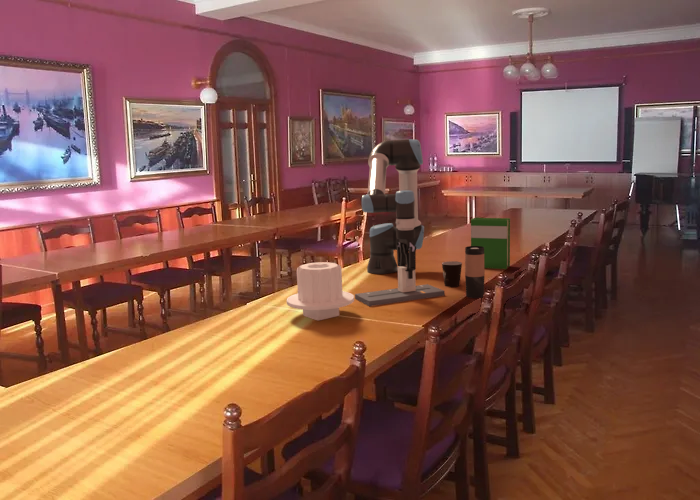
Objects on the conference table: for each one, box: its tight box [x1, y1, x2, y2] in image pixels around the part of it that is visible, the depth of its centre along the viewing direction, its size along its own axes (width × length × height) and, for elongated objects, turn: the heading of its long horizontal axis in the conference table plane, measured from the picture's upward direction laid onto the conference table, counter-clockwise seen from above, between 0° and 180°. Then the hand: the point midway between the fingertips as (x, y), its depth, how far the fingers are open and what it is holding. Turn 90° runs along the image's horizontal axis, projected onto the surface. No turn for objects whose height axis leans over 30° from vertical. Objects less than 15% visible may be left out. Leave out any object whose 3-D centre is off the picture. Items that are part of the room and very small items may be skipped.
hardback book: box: [470, 217, 511, 270], centre depth 307 cm, size 18×7×24 cm, turn 65°
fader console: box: [354, 283, 445, 307], centre depth 254 cm, size 14×34×2 cm, turn 113°
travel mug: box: [464, 245, 485, 299], centre depth 250 cm, size 8×8×20 cm
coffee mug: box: [441, 260, 463, 288], centre depth 272 cm, size 12×9×10 cm
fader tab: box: [397, 266, 417, 292], centre depth 255 cm, size 4×6×10 cm
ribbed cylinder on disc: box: [286, 261, 355, 322], centre depth 230 cm, size 25×25×19 cm
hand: (406, 285), depth 255 cm, fingers closed on fader tab, 4 cm apart
